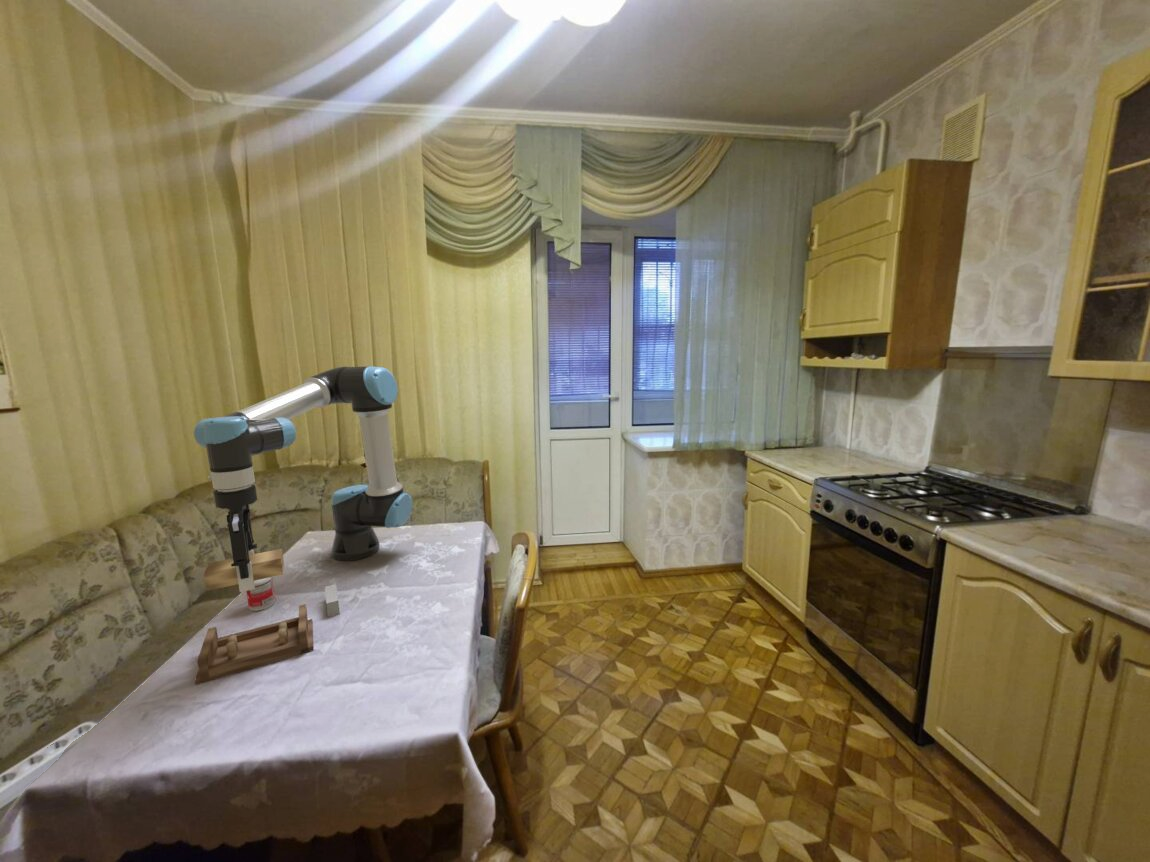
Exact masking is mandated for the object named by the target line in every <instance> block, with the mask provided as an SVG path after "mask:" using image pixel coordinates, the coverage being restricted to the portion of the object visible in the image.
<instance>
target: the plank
mask: <svg viewBox="0 0 1150 862" xmlns="http://www.w3.org/2000/svg"><path fill="white" fill-rule="evenodd" d="M249 559H250V561H251V565H252V572H253V579H254V581H255V580H260V579H264V578H269V577H272V578H274V577H279V576H282V575H284V569H285V561H284V553H283V548H279V549H273V550H268V551H264V552H263V551H262V552H258V553H257V552H256V553H254V554H252V555H249ZM233 563H234V562H233V557H232V558H226V559H221V560H216V561H210V562H208V563H207V566H206V568H205V571H204V572H203V574H204V575H203V576H204V580H205V581H204V582H205V588H206V592H208V591H212V590H217V589H222V588H226V587H231V586H236V585H239V584H238V577H237V571H236V566H233V567H232V566H231V564H233Z"/></svg>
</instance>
